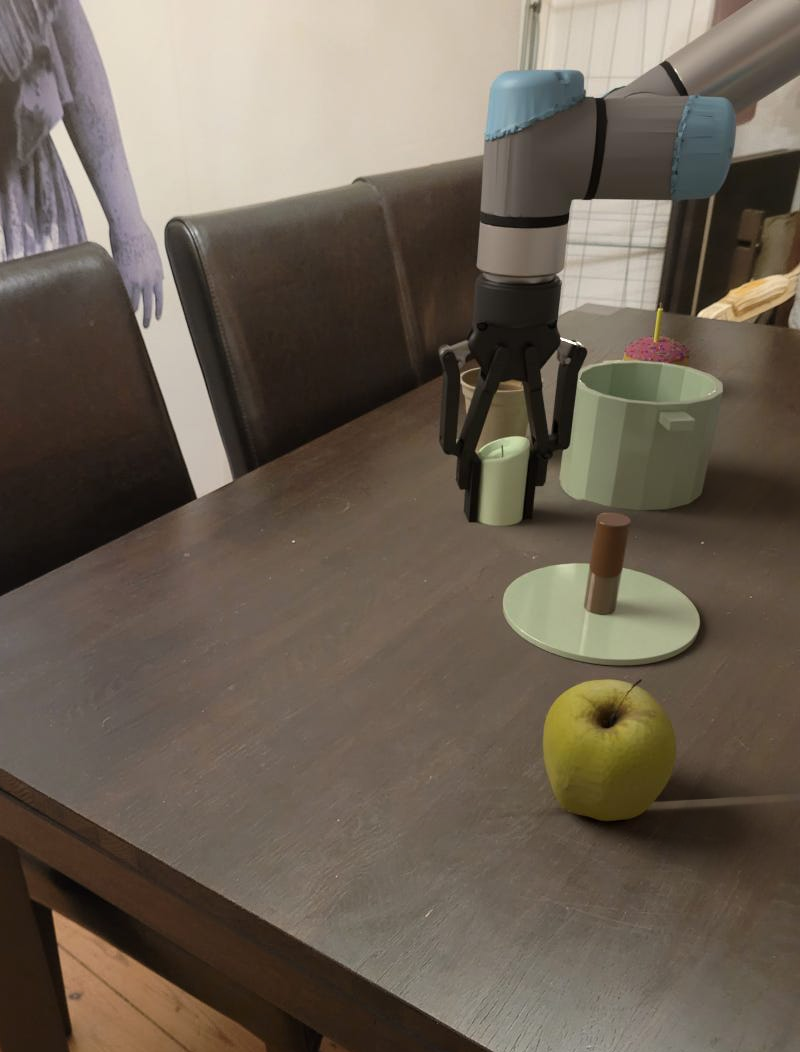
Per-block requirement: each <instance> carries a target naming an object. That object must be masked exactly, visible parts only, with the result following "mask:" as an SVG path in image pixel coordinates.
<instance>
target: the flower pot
mask: <svg viewBox="0 0 800 1052" xmlns="http://www.w3.org/2000/svg"><path fill="white" fill-rule="evenodd" d="M479 370H480V367H476V368H471V369H469V370H466V371H463V372H461V373H460V376H461V383H460V386H461V387H462V394H463V396H464V401H465V402H464V403H465V413H466V415H467V412H468V409H469V406H470V403H471V400H472V397H473V394H474V391H475V388H476V384H477V377H478V373H479ZM541 378H542V385H544V378H543V377H542V376H541ZM528 427H529V421H528V414H527V408H526V402H525V395H524V389H523V384H522V382H520V381H516V380H509V381H506V382H500V384H499V387H498V390H497V392H496V393H495V394H494V397H493V400H492V403H491V406H490V409H489V412H488V415H487V418H486V421H485V424H484V427H483V430H482V433H481V436H480V439H479V442H478V445H477V448H476V451H475V452H476V453H478V451H479V450H480V449H481V448H482V447H484V446H485V445H487V444H489V443H491V442H493V441H496V440H498V439H502V438H506V437H515V436H519V437H525V438H526V435H527V432H528V431H527V430H528Z"/></svg>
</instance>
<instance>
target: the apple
mask: <svg viewBox="0 0 800 1052" xmlns="http://www.w3.org/2000/svg"><path fill="white" fill-rule="evenodd" d="M642 681H643V678H642V679H641V678H640V679H638V680H637V681H636V682H635V683H630V682H628V681H623V680H617V679H607V678H606V679H594V680H588V681H583V682H581V683H578V684H575V685H574V686H572V687H570V688H568V689H567V690H565V691H564V692H563V693H561V695H559V696H558V697H557V698H556V699H555V700H554V702H553V703H552V705H551V706H550V708H549V709H548V712H547V715H546V718H545V721H544V725H543V736H542V750H543V751H542V752H543V762H544V766H545V771H546V774H547V776H548V779H549V783H550V786H551V789H552V792H553V794H554V797H555V798H556V801H557V802H558V804H559V805H560V806H561V807H562V808H563V809H565V810H566V811H567V812H570V813H572V814H574V815H578V816H584V817H589V818H592V819H595V820H597V821H604V822H612V821H622V820H631V819H633V818H637V817H638V816H640V815H641V814H643V813H644V812H645V811H647V810H648V809H649V808H650V806H652V804H653V803H654V802H655V801H656V800H657V798H658V796H660V794H661V793H662V792H663V791H664V789H665V788H666V786H667V784H668V782H669V780H670V779H671V777H672V774H673V771H674V767H675V762H676V759H677V742H676V741H677V740H676V735H675V729H674V727H673V724H672V722H671V720H670V717H669V716H668V714H667V713H666V711H665V709H664V707H662V705H661V703H659V702H658V700H657V699H655V697H654V696H653V695H651V693H649V692H648V691H646V690H645V689H643V688H641V687H639V686H637V685H639V684H640V683H642Z"/></svg>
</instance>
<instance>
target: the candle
mask: <svg viewBox="0 0 800 1052" xmlns="http://www.w3.org/2000/svg"><path fill="white" fill-rule="evenodd" d="M530 440H531V439H528V437H526V436H525V437H519V436H515V437H506V438H502V439H498V440H496V441H493V442H491V443H489V444H487V445H485V446H484V447H482V448H481V449H480V450H479V451H478V453H477V455H478V457H479V459H480V460H481V468H480V481H479V494H478V506H477V519H476V522H480V523H482V524H484V525H489V526H496V527H506V526H512V525H516V524H518V523H520V522H521V521H522V520H523V519H524V518H523V511H524V501H525V491H526V482H527V472H528V463H529V453H530V449H531V441H530Z"/></svg>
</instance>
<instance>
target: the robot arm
mask: <svg viewBox="0 0 800 1052" xmlns="http://www.w3.org/2000/svg"><path fill="white" fill-rule="evenodd" d="M798 77H800V0H751V1H749V2H748V3H747V4H745V5H744V6H742V7H741V8H739V9H738V10H736V11H735V12H733V13H732V14H730V15H728V16H727V17H726V18H724V19H723V20H721V21H720V22H718V23H717V24H716V25H714V26H712V27H711V28H709V29H708V30H707V31H705V32H703V33H702V34H700V35H699V36H698V37H696V38H694V39H693V40H691V41H690V42H688V43H687V44H686V45H684V46H683V47H681V48H680V49H678V50H676V51H675V52H674V53H672V54H671V55H669V56H668V57H666V58H665V59H664V61H661V62H660V63H659V64H657V65H656V66H654V67H652V68H650V69H648V71H646V72H645V73H643V74H641V75H640V76H638V77H637V78H635V79H634V80H633V81H631V82H629V83H628V84H626V85H621V86H619V87H614V88H612V89H611V90H609V91H608V92H606V93H605V94H603V95H602V96H600V97H594V96H586V95H587V90H586V89H585V83H586V79H585V75H584V74H583V72H582V71H580V70H578V69H515V70H506V71H504V72H501V73H500V74H498V75H497V76H496V78H495V79H494V80H493V81H492V83H491V85H490V89H489V97H488V107H487V115H486V125H485V132H484V144H483V159H482V161H483V162H482V176H481V177H482V179H481V194H480V195H481V196H480V216H479V220H480V221H479V231H478V245H477V257H476V268H477V270H479V271H480V272H481V273H480V274H479V275H478V276H477V278H476V279H475V283H474V296H473V297H474V298H473V299H474V300H473V313H472V325H471V328H470V329H469V331H468V333H467V335H466V337H465V340H463V341H460V342H457V343H455V344H452V345H448V344H446V343H445V344H441V345H440V346H439V347H438V349H437V353H438V357H439V361H440V364H441V367H442V370H443V371H442V386H441V399H440V400H441V403H440V417H439V421H440V422H439V432H438V433H439V434H438V441H439V442H438V443H439V445H440V447H441V450H442V451H443V453H444V454H445V455H447V456H455V457H456V469H455V481H456V484H457V487H458V489H459V490H460V491H464V499H463V513H464V515H465V517H466V519H467V522H468V523H477V520H476V519H477V506H478V494H479V481H480V468H481V460H480V459H479V457H478V455H477V453H476V452H475V451H476V448H477V445H478V442H479V439H480V436H481V433H482V430H483V427H484V424H485V421H486V418H487V415H488V412H489V409H490V406H491V403H492V400H493V397H494V394H495V393H496V392H497V390H498V387H499V384H500V382H506V381H509V380H516V381H520V382H522V384H523V389H524V395H525V402H526V408H527V414H528V421H529V423H528V427H529V434H530V440H531V446H532V448H530V453H529V463H528V472H527V482H526V491H525V501H524V511H523V518H522V519H523V520H524V521H530V520H533V516H534V515H533V514H534V505H535V497H536V487H544V485H545V484H546V482H547V473H548V465H549V460H550V459H552V458H553V456H554V453H555V452H557V451H559V450H560V451H563V450H566V449H567V448H568V447H569V446H570V440H571V432H572V423H573V415H574V407H575V398H576V390H577V382H578V373H579V371H580V369H581V368H583V367H582V366H583V365H584V362H585V360H586V359H587V355H588V349H587V348H586V347H585V345H583V344H582V343H581V342H580V341H578V340H577V339H571V340H568V339H566V338H563V337H562V336H561V334H560V331H559V329H558V320H559V315H560V314H559V312H560V304H561V295H562V286H563V284H562V283H563V281H562V280H561V277H560V276H559V275H557V274H559V273H560V274H561V272H563V270H564V269H565V261H566V251H567V243H568V242H567V240H568V233H569V221H570V215H571V214H570V213H571V212H570V211H571V206H572V202H573V201H575V200H577V201H579V200H580V201H592V200H622V201H623V200H626V201H627V200H628V201H629V200H630V201H631V200H634V201H672V203H678V202H680V201H685V200H686V201H687V200H688V201H689V200H703V199H709V198H711V197H713V196H715V195H716V194H717V193H718V192H719V191H720V189H721V188H722V186H723V185H724V183H725V181H726V179H727V176H728V173H729V171H730V167H731V163H732V161H733V160H732V159H733V155H734V150H735V146H736V145H735V143H736V135H737V116H738V115H739V114H741V113H743V112H744V111H745V110H747V109H749V108H751V107H752V106H753V105H755V104H757V103H759V101H761V100H763V99H765V98H766V97H768V96H769V95H771V94H773V93H774V92H775V91H777V90H779V89H780V88H782V87H784V86H785V85H787V84H788V83H790V82H791V81H793V80H794V79H796V78H798ZM555 352H556V353H557V354H556V360H557V361H558V362H559V364H558V369H557V376H556V383H555V384H556V385H555V393H554V394H555V395H554V403H553V413H552V421H551V432H550V434H549V429H548V421H547V414H546V409H545V408H546V407H545V401H544V393H543V388H544V387H543V386H544V384H542V378H543V377H542V373H541V372H542V371H541V370H542V369H543V368H544V367H545V365H546V364H547V362H548V361H549V360H550V359H551V358H552V356H554V354H555ZM470 354H471V355H472V357H473V359H474V360H475V362H476V364H477V365H478V366H479V368H480V370H479V373H478V377H477V384H476V388H475V391H474V394H473V397H472V400H471V403H470V406H469V409H468V412H467V414H466V416H465V420H464V422H463V425H462V428H461V430H460V431H461V432H460V434H459V438H458V437H457V436H458V423H459V410H460V395H461V376H460V375H461V370H462V369H463V368H464V367H465V365H466V359H467V356H468V355H470ZM541 377H542V378H541Z"/></svg>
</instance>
